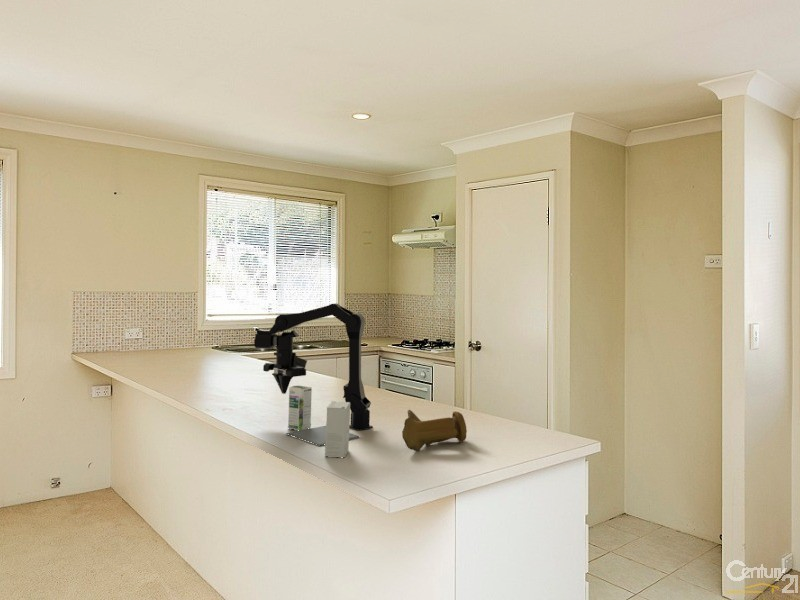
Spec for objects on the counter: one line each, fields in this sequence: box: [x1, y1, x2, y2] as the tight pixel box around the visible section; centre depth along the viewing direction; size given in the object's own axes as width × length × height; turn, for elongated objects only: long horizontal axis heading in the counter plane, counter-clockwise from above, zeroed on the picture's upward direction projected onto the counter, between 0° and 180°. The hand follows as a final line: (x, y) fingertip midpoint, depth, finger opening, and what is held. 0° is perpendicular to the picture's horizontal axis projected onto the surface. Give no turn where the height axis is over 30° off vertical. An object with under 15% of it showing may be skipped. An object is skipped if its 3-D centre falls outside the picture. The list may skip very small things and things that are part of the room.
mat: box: [285, 425, 360, 446], centre depth 192 cm, size 18×16×1 cm
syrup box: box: [287, 385, 313, 431], centre depth 201 cm, size 6×6×14 cm
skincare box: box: [324, 400, 351, 458], centre depth 172 cm, size 8×6×15 cm
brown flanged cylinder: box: [401, 409, 468, 452], centre depth 184 cm, size 18×13×22 cm
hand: (284, 393), depth 208 cm, fingers closed
